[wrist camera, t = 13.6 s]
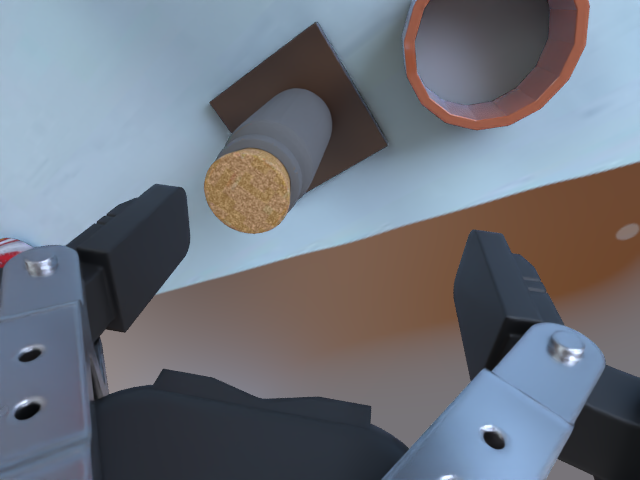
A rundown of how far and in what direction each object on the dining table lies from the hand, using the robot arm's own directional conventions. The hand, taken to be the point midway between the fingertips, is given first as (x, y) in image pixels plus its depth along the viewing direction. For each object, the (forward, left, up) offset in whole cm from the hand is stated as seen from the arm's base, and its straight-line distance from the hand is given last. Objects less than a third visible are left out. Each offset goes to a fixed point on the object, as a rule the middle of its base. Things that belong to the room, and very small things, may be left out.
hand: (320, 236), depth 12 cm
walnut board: (0, -6, -25) cm, 26 cm away
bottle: (0, -6, -25) cm, 25 cm away
